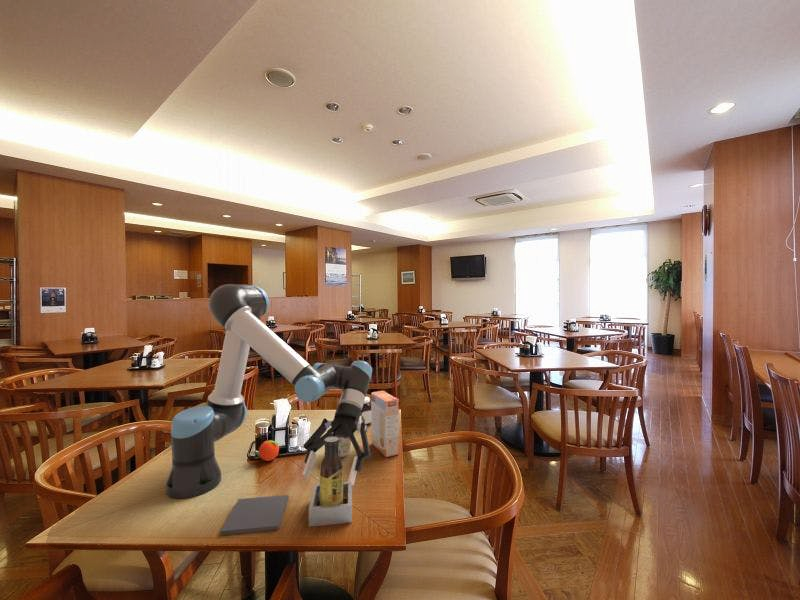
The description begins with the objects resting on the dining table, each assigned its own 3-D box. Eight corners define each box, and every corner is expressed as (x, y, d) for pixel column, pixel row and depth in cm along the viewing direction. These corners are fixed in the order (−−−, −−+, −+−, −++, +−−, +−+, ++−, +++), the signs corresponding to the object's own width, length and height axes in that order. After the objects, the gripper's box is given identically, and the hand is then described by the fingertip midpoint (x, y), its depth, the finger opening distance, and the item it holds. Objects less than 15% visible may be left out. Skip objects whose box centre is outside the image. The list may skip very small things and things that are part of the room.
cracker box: (400, 454, 131) (399, 398, 131) (385, 458, 129) (384, 401, 128) (384, 441, 144) (384, 389, 144) (371, 444, 141) (370, 391, 141)
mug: (355, 449, 137) (354, 423, 137) (346, 464, 124) (346, 436, 124) (333, 448, 138) (333, 422, 137) (323, 464, 125) (323, 435, 125)
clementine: (285, 455, 132) (284, 436, 132) (277, 464, 125) (276, 444, 125) (264, 455, 132) (263, 436, 132) (255, 464, 126) (254, 444, 125)
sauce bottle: (335, 520, 94) (334, 445, 94) (315, 515, 96) (314, 442, 96) (347, 506, 100) (346, 436, 100) (328, 501, 102) (327, 433, 102)
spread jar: (373, 420, 168) (373, 395, 168) (373, 429, 156) (373, 403, 156) (348, 421, 167) (347, 396, 167) (346, 430, 156) (345, 404, 156)
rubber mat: (220, 535, 89) (220, 531, 89) (238, 502, 103) (238, 499, 103) (278, 529, 91) (278, 525, 90) (288, 498, 104) (288, 494, 104)
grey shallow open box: (308, 526, 91) (308, 509, 91) (314, 499, 103) (313, 484, 103) (351, 522, 93) (351, 505, 93) (352, 496, 105) (351, 481, 105)
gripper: (391, 416, 109) (374, 491, 95) (318, 409, 116) (293, 478, 102) (385, 404, 104) (366, 481, 90) (309, 398, 111) (281, 469, 97)
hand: (327, 480), depth 96 cm, fingers open, 13 cm apart
